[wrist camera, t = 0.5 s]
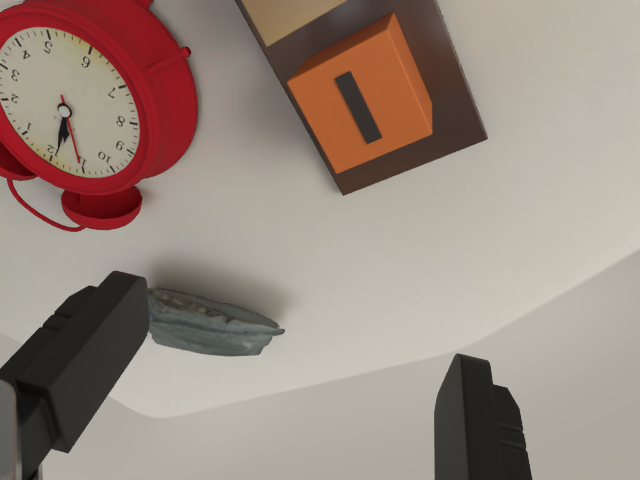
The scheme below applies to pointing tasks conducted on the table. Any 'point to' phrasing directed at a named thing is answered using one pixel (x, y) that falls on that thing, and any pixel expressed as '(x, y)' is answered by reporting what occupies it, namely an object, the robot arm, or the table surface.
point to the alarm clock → (92, 104)
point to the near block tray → (427, 51)
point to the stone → (207, 325)
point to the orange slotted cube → (364, 95)
